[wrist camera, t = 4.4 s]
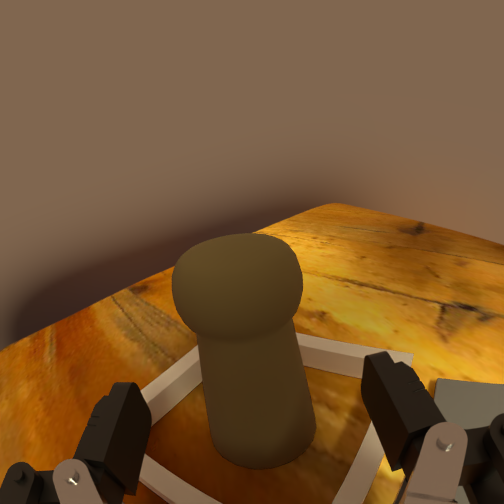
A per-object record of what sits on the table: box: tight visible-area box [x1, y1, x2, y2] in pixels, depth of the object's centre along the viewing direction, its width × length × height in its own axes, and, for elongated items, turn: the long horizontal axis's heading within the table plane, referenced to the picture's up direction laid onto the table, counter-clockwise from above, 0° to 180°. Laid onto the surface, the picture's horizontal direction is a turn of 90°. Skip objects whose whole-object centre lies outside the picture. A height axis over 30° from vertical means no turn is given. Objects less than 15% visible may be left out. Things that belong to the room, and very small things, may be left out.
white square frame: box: [139, 333, 414, 504], centre depth 15 cm, size 14×14×2 cm
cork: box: [172, 233, 316, 469], centre depth 13 cm, size 6×6×11 cm
